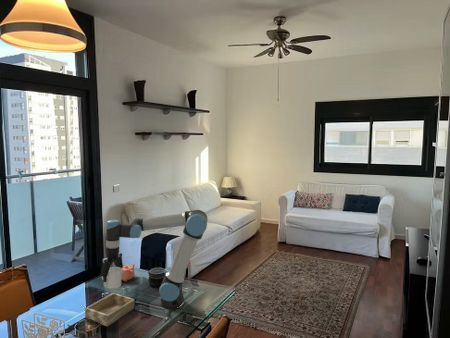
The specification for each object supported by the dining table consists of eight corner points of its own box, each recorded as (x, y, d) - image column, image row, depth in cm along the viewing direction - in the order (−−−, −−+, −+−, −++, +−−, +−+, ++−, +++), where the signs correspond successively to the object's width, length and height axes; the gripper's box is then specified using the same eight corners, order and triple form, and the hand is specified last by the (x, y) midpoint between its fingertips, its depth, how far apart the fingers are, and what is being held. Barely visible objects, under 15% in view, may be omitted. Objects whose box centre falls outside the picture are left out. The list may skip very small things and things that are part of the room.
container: (152, 289, 224) (152, 275, 223) (145, 282, 234) (145, 269, 233) (169, 285, 231) (169, 271, 231) (161, 278, 242) (161, 265, 241)
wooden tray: (134, 308, 197) (134, 299, 197) (107, 326, 177) (108, 316, 177) (112, 301, 204) (113, 292, 204) (85, 318, 184) (85, 308, 184)
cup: (116, 290, 185) (116, 273, 184) (97, 287, 187) (97, 270, 187) (123, 284, 193) (124, 267, 192) (105, 281, 196) (105, 265, 195)
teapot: (132, 283, 232) (133, 269, 231) (115, 283, 230) (116, 269, 229) (135, 275, 246) (135, 262, 245) (119, 275, 244) (119, 262, 243)
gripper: (120, 240, 200) (119, 276, 202) (93, 250, 181) (92, 289, 183) (130, 243, 197) (128, 279, 199) (103, 252, 178) (102, 292, 180)
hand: (111, 283), depth 191 cm, fingers closed on cup, 8 cm apart
